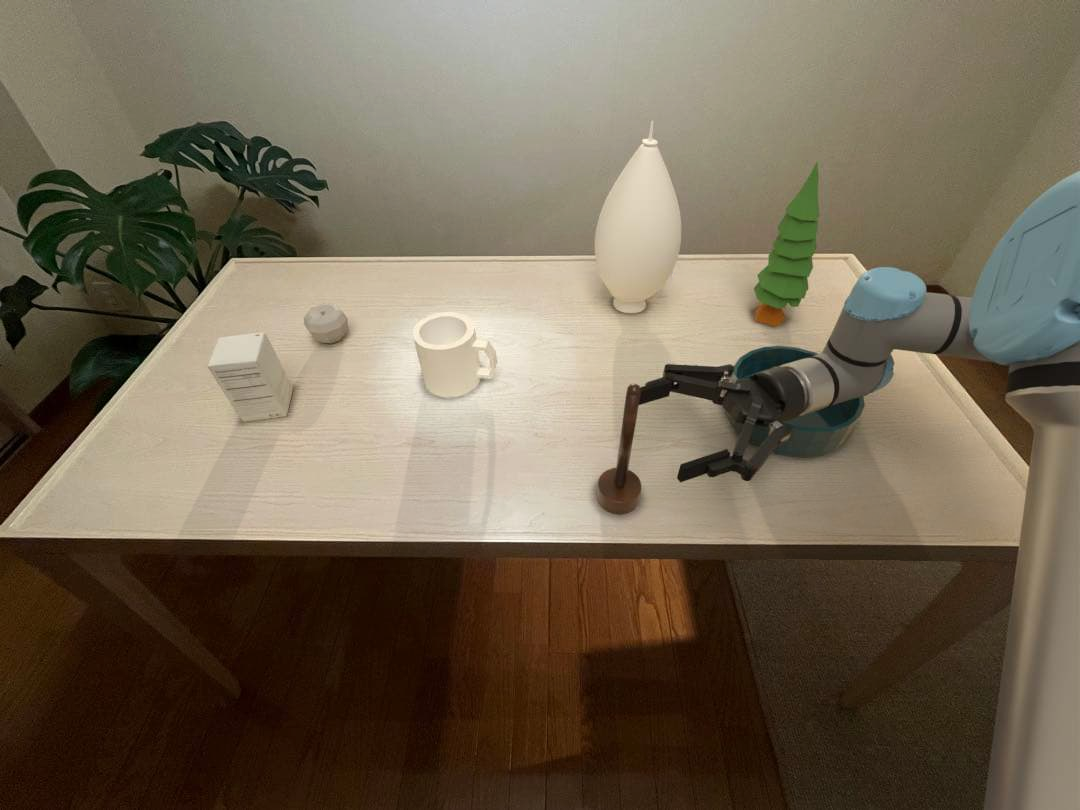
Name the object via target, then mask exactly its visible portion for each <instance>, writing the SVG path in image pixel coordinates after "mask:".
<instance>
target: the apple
mask: <svg viewBox="0 0 1080 810" xmlns="http://www.w3.org/2000/svg"><path fill="white" fill-rule="evenodd" d="M348 322H349V321H348V316H347V315H346V314H345V313H344V311H343V310H342V309H341V308H340V306H339V304H335V303H334V304H333V303H322V304H318V305H315V306H313V307H311V308H309V310H308V311H307V312H306V314H305V315H304V316H303V326H305V328H306V329H307V331H308V332H309V334H310V335H311V336H312V337H313V339H315V340H316V341H318V342H319V343H323V344H334V343H337V342H340V341H341V340H342V338H343V337H344V336H345V334H346V332H347V329H348V327H349V323H348Z"/></svg>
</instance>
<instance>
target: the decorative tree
mask: <svg viewBox="0 0 1080 810" xmlns="http://www.w3.org/2000/svg"><path fill="white" fill-rule="evenodd" d="M819 177H820V176H819V165H818V161H816V162H815V164H814V166H813V168H812V170H811V172H810V174H809V176H808V177H807V178H806V180H805V182H804V184H803V185H802V187H801V188H800V190H799V192H798V193H797V194H796V196H795V197H793V199H792V200H791V201H790V203H789V204H788V205H787V206H786V207H785V209H784V210H785V211H786V213H785V214H784V216H783V217H782V219H781V221H780V222H779V224H778V226H777V230H778V235H777V236H776V238H775V240H774V241H773V242H772V246H773V249H772V250H771V251H770V253H769V254H768V261H767V263H768V264H767V265H766V266H765V267H764V268H763V269H761V270H760V271H759V273H757V274H756V276H757V278H758V282H757V283H756V285H754V287H753V291H754V294H755V298H756V300H757V301H758V302H761V304H760V305H759V306H758V307H757V308H756V309H755V310H754V322H757V323H761V324H765V325H769V326H773V327H777V326H780V325H781V324H783V323H784V322H785V321H786V320H787V316H786V315H785V313H784V311H783V309H786V307H787V306H788V305H789V306H790V307H791V308H798V307H799V306H800V303H801V302H802V299H805V298H806V295H807V292H808V290H809V281H808V280H809V279H808V278H809V277H810V274H811V273H812V271H813V268H814V263H813V257H814V255H815V252H816V250H817V248H818V244H817V233H818V229H819V223H818V222H819V221H818V219H819V218H820V207H819V197H818V195H819Z"/></svg>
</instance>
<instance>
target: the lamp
mask: <svg viewBox="0 0 1080 810" xmlns="http://www.w3.org/2000/svg"><path fill="white" fill-rule="evenodd" d="M658 144H659V142H658V140H656V139H655V138H654V120H651V122H650V126H649V131H648V137H647V138H643V139H642V140H641V144H640V145H639V147H638V148H637V149H636V150H635V151H634V153H633V155H632V156H631V158H630V159H629V161H628V162H627V163H626V164H625V166H624V168H623V170H622V171H621V172H620V174H619V175H618V177H617V179H616V180H615V182H614V184H613V186H612V187H611V189H610V190H609V193H608V195H606V198H605V200H604V203H603V205H602V208H601V211H600V213H599V216H598V219H597V224H596V229H595V234H594V258H595V263H596V268H597V271H598V274H599V276H600V279H601V281H602V282H603V285H604V286H605V287H606V289H607V290H608V291H609V293H610V294H611V295H612V296H613V297H614V298H613V302H612V303H613V307H614V308H615V309H616V310H617V311H618V312H621V313H624V314H638V313H640V312H643V311H644V310H646V307H647V301H646V300H648V299H650V298H652V297H653V296H654V295H655V294H656V293H658V292H659V291H660V290H661V288H663V287H664V285H665V284H666V283H667V282H668V280H669V279H670V277H671V275H672V274H673V271H674V268H675V266H676V264H677V261H678V258H679V255H680V252H681V251H680V250H681V245H682V216H681V209H680V204H679V201H678V197H677V194H676V190H675V187H674V184H673V181H672V178H671V176H670V173H669V171H668V168H667V165H666V163H665V161H664V159H663V156H662V154H661V152H660V149H659V147H658Z"/></svg>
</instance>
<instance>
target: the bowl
mask: <svg viewBox="0 0 1080 810" xmlns="http://www.w3.org/2000/svg"><path fill="white" fill-rule="evenodd" d="M818 354H819V353H817V352H815V351H811V350H808V349H804V348H800V347H795V346H787V345H786V346H785V345H773V346H763V347H759V348H755V349H753V350H749V351H748V352H746V353H744V354H743V355H742V356H740V357H739V358H738V359H737V361H736V362H735V364H734V365H733V366H734V371H733V373H734V374H735V376H736V377H737V378H738V379H748V378H749V377H751V376H753V375H754V374H756V373H758V372H761V371H764V370H768V369H771V368H773V367H776V366H781V365H783V364H787V363H790V362H794V361H798V360H801V359H804V358H808V357H811V356H815V355H818ZM865 405H866V403H865V396H864V397H860V398H855V399H851V400H848V401H845V402H841V403H838V404H835V405H831V406H829V407H826V408H824V409H821V410H817V411H814V412H811V413H808V414H805V415H802V416H798V417H796V418H794V419H791V420H788V421H785V422H782V423H781V424H782V425H785V424H789V425H791V426H792V427H793V430H792V432H791V434H790V436H789V438H788V441H787V442H786V443H785V444H783V445H781V446H779V447H777V448H775V450H774V451H773V452H772V453H775V454H777V455H782V456H785V457H791V458H804V459H805V458H817V457H821V456H824V455H828V454H830V453H833V452H834V451H836V450H837V449H839V448H840V447H841V446H843V444H844V442H845V441H846V440H848V437H849V436H850V435H851V432H852V431H853V430H854V428H855V426H856V424H857V423H858V421H859V420H860V418H861V416H862V413H863V411H864V409H865ZM724 412H725V414H726V417H727V419H728V420H729V422H730V424H731V425H732V426H733V428H734V429H735V430H736V431H737V432H738V433H739V434H740V433H741V431H742V428H743V426H744V424H741V423H739V422H735V421H734V420H733V419H732V417H731V415H730V414H729V413H728V412H727V411H725V410H724ZM770 430H771V429H770V428H762V427H756V426H754V428H753V431H752V433H751V436H750V439H749V441H750V443H752V444H754V445H756V446H758V447H760V446H761V444H762V443H763V442H764V441H765V440H766V438H767V437H768V436H769V432H770Z"/></svg>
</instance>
